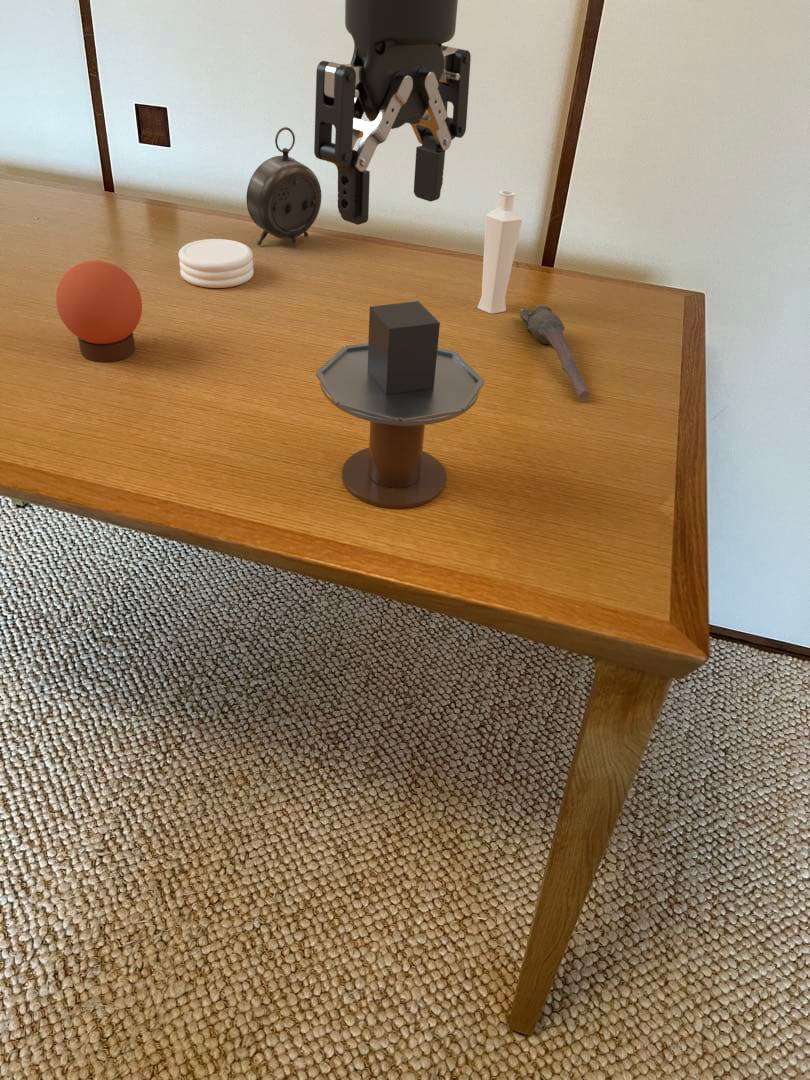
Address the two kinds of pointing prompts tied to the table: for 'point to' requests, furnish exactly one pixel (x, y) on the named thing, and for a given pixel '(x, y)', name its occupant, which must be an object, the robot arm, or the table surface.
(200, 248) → the coaster
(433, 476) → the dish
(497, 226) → the perfume bottle
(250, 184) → the alarm clock
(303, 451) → the table surface
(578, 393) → the natural artifact
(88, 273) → the ball
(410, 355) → the block
